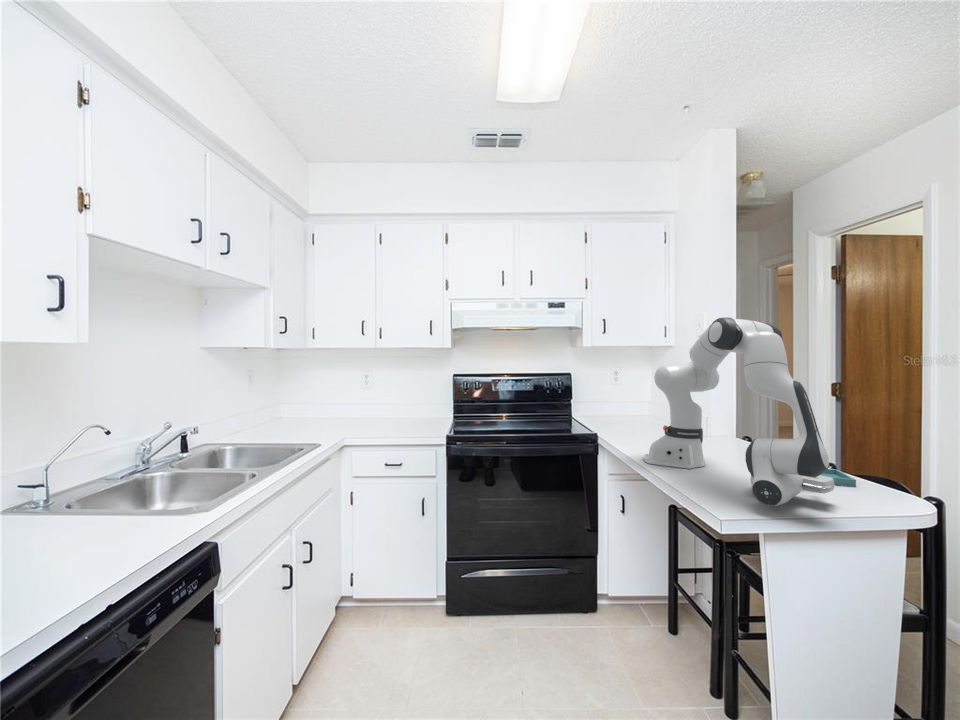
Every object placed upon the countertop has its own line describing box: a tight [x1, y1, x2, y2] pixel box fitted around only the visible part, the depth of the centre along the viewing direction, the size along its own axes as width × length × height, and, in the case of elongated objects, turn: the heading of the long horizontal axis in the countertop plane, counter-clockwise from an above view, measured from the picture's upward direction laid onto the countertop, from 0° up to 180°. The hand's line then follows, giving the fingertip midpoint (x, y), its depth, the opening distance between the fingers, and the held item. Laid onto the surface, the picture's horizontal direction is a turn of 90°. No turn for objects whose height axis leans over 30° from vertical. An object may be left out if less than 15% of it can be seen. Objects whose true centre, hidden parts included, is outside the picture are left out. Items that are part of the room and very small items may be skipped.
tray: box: [821, 468, 857, 488], centre depth 150 cm, size 14×13×2 cm
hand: (797, 473), depth 136 cm, fingers open, 8 cm apart
